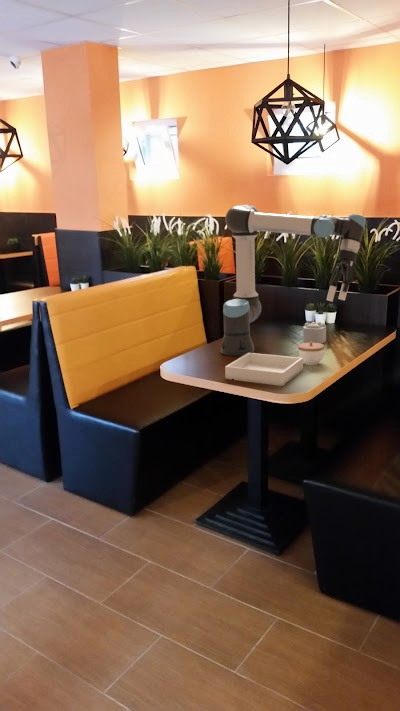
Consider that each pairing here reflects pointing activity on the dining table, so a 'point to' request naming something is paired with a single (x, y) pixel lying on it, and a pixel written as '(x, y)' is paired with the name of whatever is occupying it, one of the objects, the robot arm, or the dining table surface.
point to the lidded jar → (311, 353)
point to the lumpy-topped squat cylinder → (314, 333)
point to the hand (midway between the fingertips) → (335, 300)
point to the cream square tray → (264, 368)
